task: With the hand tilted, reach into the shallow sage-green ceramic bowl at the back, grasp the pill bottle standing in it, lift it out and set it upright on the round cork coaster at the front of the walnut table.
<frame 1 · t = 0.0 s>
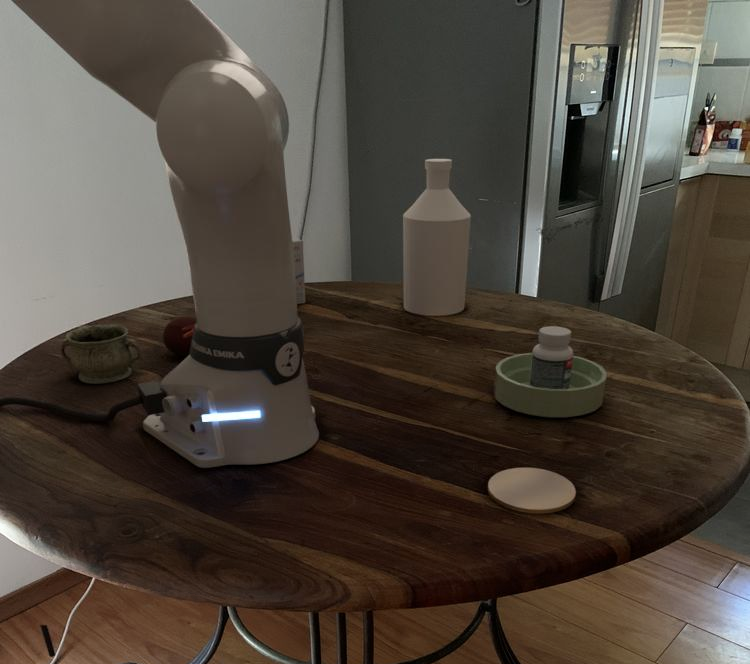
pill bottle: (547, 397, 98), resting on bowl
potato: (192, 357, 114), on the table
vessel: (105, 375, 108), on the table
ink box: (281, 304, 140), on the table
bottle: (433, 308, 137), on the table
coaster: (531, 491, 77), on the table
bowl: (547, 398, 98), on the table
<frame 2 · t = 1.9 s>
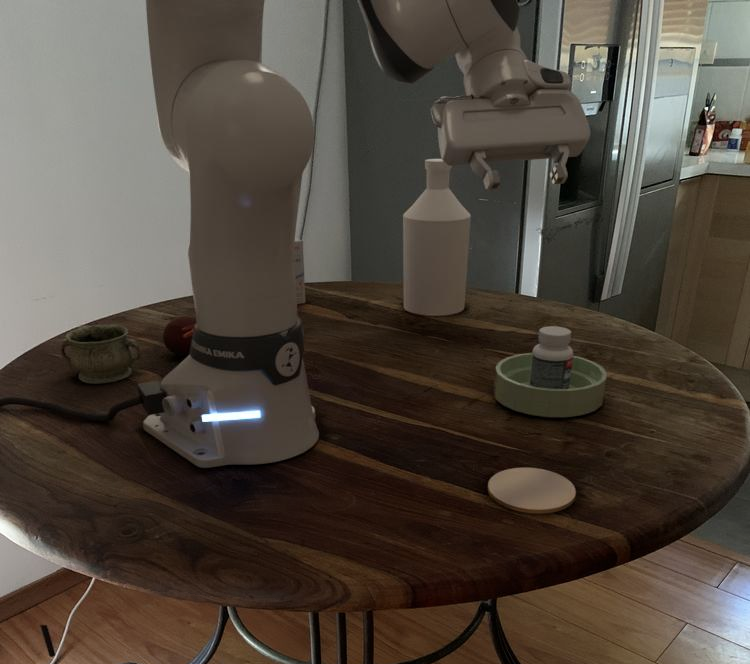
hand: (527, 183, 95), 25 cm above the table, tool tilted 45°, fingers open, 8 cm apart
nothing on the table moved.
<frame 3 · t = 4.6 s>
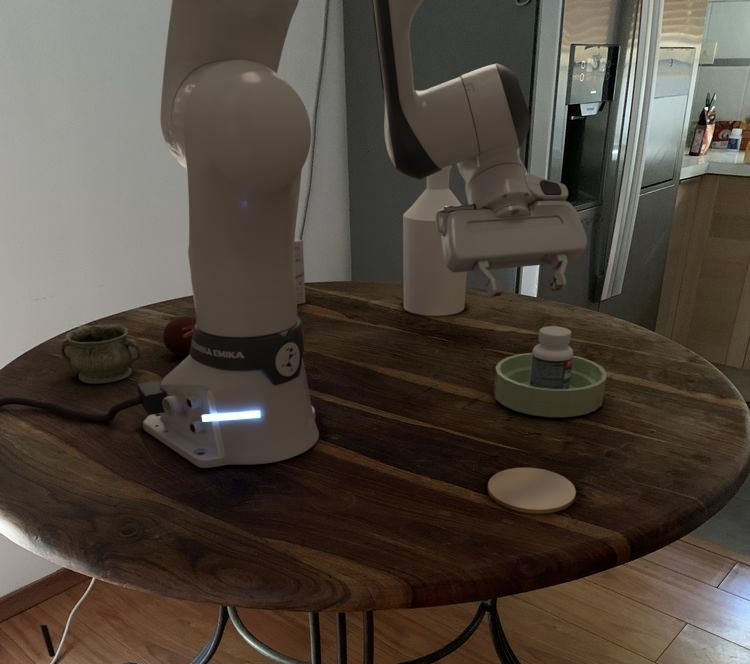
hand: (528, 291, 99), 12 cm above the table, tool tilted 45°, fingers open, 8 cm apart
nothing on the table moved.
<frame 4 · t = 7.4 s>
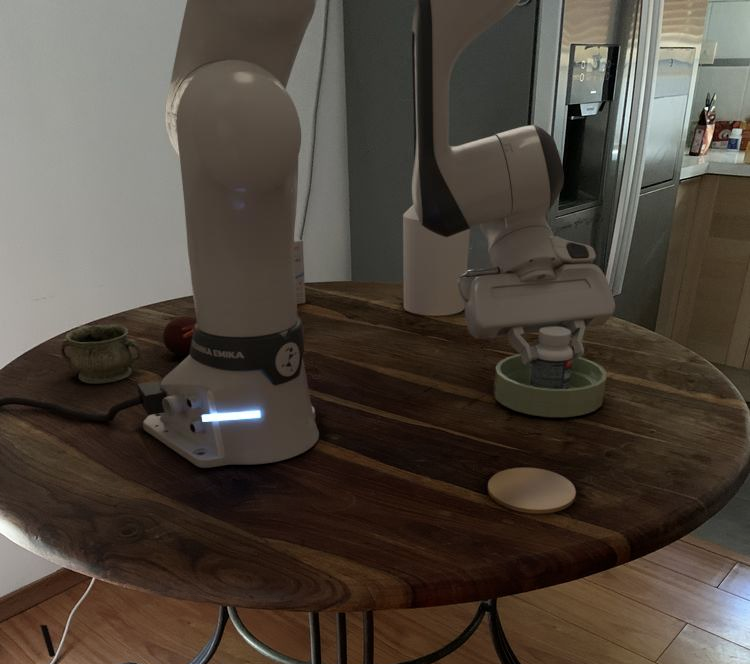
hand: (554, 359, 95), 6 cm above the table, tool tilted 45°, fingers closed on pill bottle, 5 cm apart
pill bottle: (547, 397, 98), resting on bowl, touching gripper
everything else where it was.
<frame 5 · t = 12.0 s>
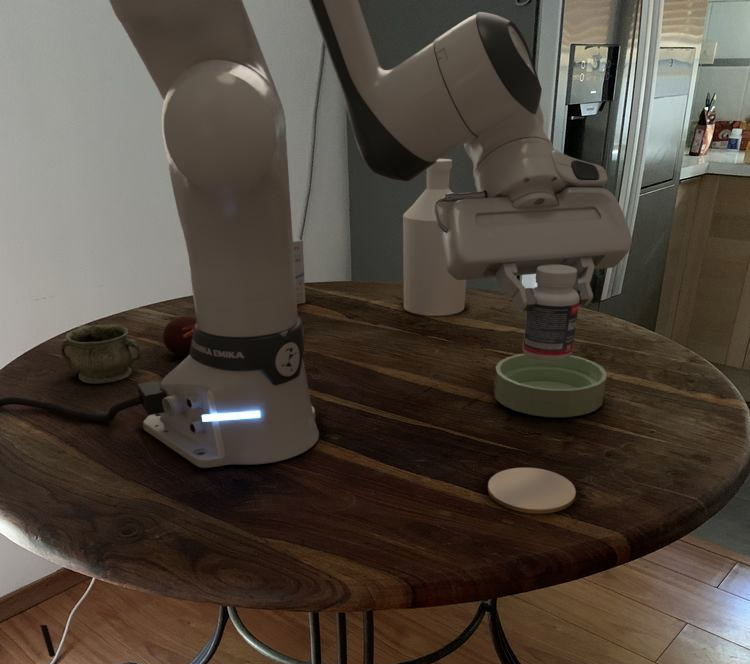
hand: (556, 305, 75), 17 cm above the table, tool tilted 45°, fingers closed on pill bottle, 5 cm apart
pill bottle: (546, 355, 78), point 12 cm above the table, touching gripper
everything else where it was.
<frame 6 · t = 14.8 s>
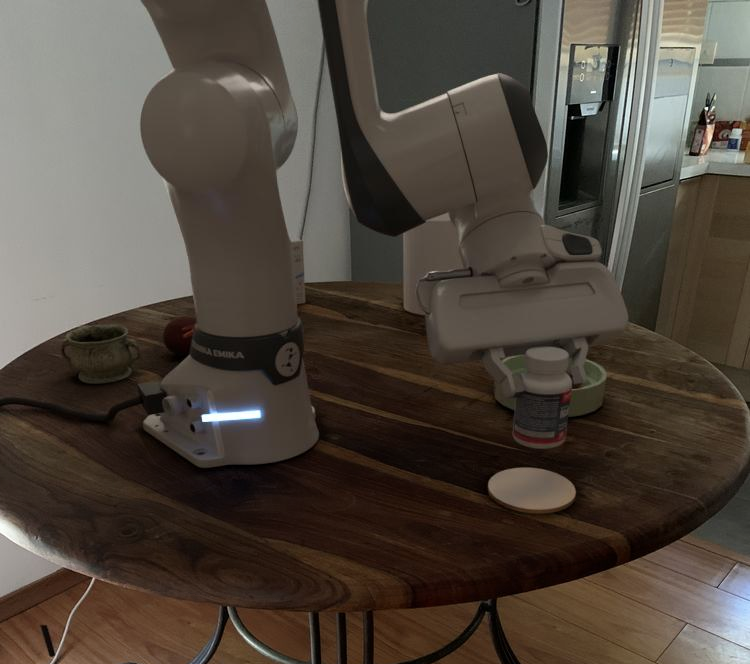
hand: (547, 391, 70), 11 cm above the table, tool tilted 45°, fingers closed on pill bottle, 5 cm apart
pill bottle: (538, 440, 74), point 6 cm above the table, touching gripper
everything else where it was.
when the fingers open (6 cm above the table, at t = 16.9 s): pill bottle stays where it is, resting on coaster.
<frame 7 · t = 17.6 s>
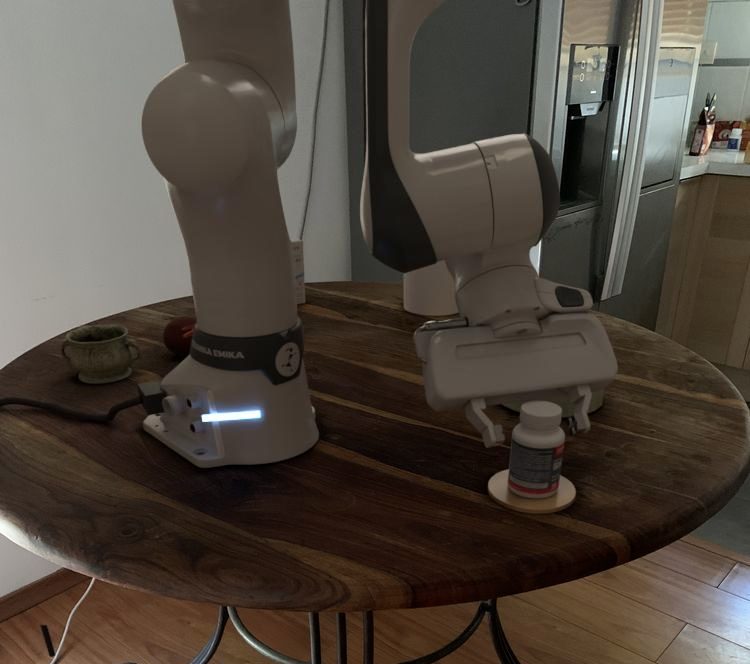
hand: (539, 438, 73), 6 cm above the table, tool tilted 45°, fingers open, 8 cm apart
pill bottle: (532, 489, 76), resting on coaster
everything else where it was.
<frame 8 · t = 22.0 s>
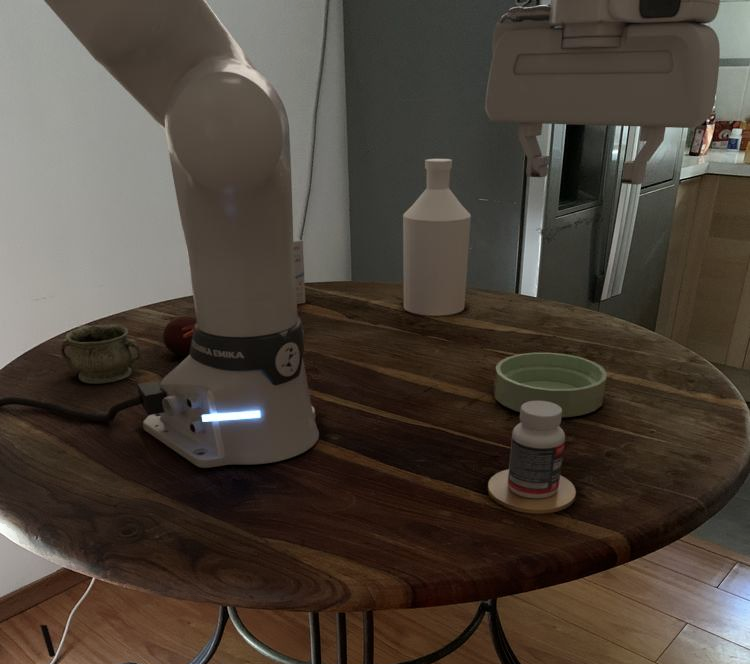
hand: (582, 180, 68), 29 cm above the table, tool pointing down, fingers open, 8 cm apart
nothing on the table moved.
at the end: pill bottle 0.1 cm off-centre on the coaster, point 0.3 cm above the coaster's base; pill bottle tilted 0°; pill bottle touching coaster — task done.
